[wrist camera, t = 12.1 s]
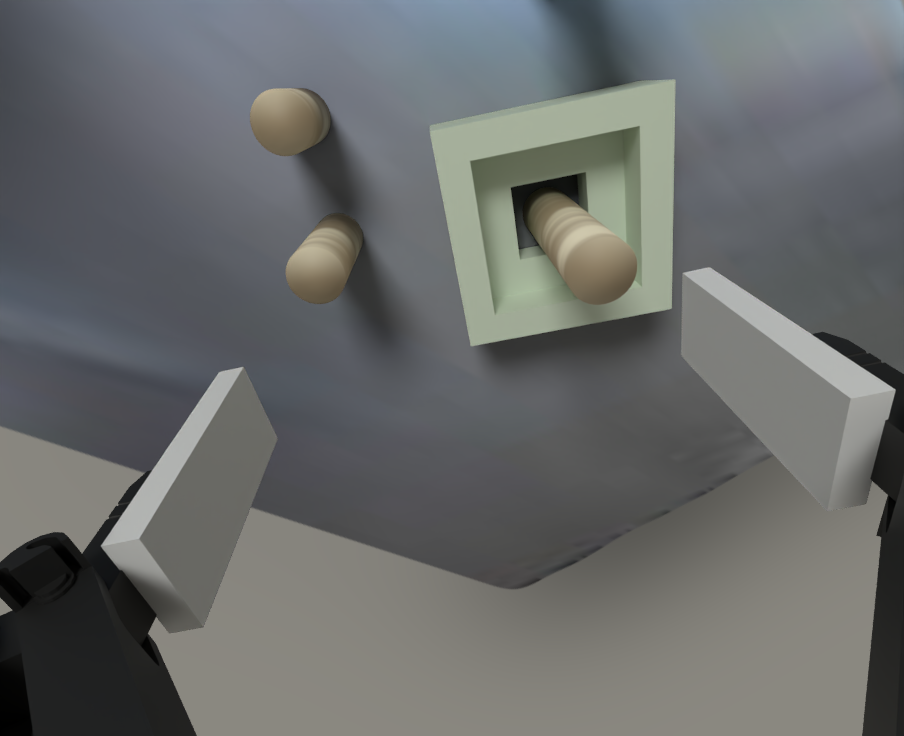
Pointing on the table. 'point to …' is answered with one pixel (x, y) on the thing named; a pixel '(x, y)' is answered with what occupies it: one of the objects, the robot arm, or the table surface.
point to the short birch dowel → (289, 120)
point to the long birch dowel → (580, 247)
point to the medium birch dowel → (325, 259)
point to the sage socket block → (600, 194)
